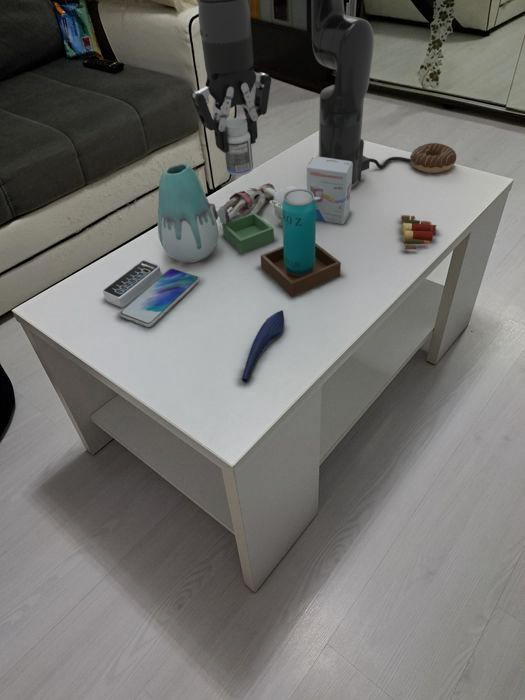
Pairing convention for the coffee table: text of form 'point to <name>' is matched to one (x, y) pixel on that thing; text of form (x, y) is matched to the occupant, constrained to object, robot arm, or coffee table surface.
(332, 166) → the ink box
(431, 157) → the donut
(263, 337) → the tapered navy handle
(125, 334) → the coffee table surface
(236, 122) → the pill bottle
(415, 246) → the ammunition
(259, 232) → the pill tray
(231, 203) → the figurine
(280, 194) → the figurine
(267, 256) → the can tray
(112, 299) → the multiport hub
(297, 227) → the beverage can
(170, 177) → the vase
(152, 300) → the smartphone
